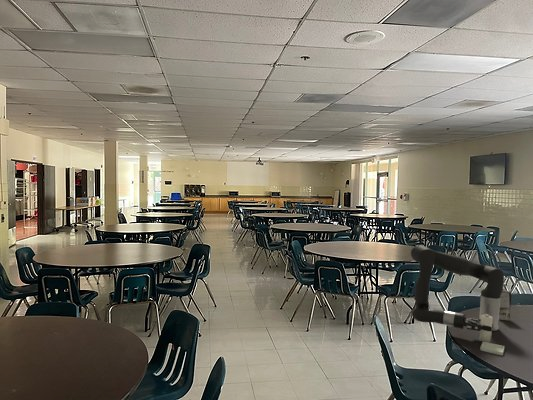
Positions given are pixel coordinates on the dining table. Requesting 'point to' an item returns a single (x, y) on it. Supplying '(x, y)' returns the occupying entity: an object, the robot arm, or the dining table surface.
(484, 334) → the battery cell
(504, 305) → the coffee box
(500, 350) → the tray
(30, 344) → the dining table surface
